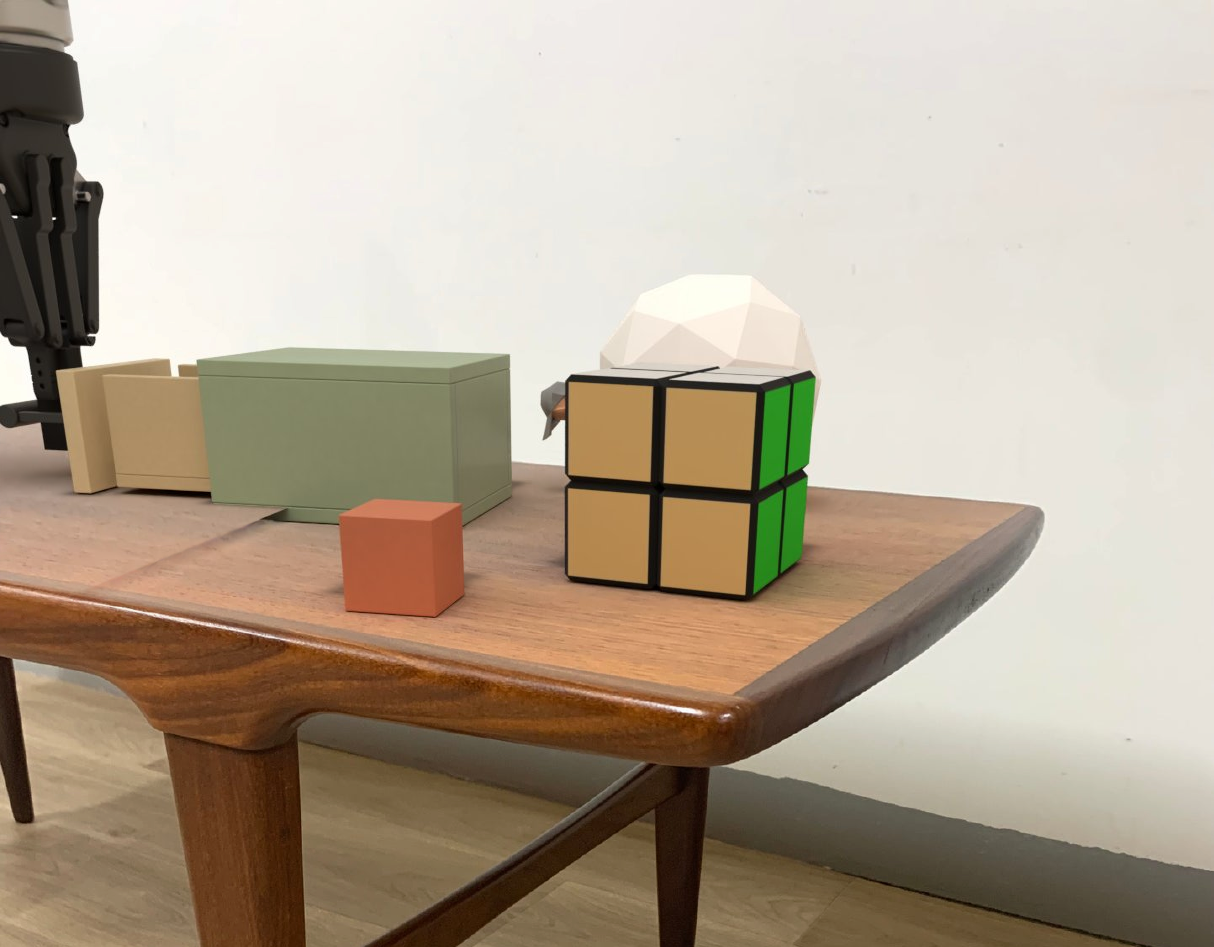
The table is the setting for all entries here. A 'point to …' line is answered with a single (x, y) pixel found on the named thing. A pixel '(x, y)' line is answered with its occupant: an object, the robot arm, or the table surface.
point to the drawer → (127, 425)
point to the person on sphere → (702, 332)
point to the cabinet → (356, 429)
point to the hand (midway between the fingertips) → (69, 448)
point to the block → (402, 557)
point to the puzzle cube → (686, 476)
